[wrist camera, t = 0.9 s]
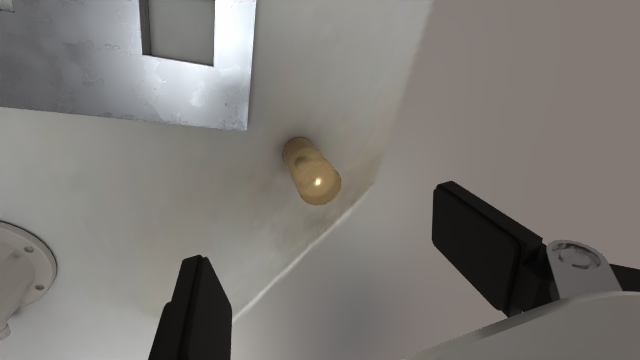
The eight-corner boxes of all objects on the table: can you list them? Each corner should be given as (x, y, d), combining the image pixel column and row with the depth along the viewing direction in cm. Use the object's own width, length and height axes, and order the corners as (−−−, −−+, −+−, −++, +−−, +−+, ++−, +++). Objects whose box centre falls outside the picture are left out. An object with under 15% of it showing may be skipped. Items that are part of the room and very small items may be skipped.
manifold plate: (245, 124, 32) (246, 131, 30) (-59, 92, 24) (-95, 97, 21) (258, -64, 26) (261, -77, 23) (-158, -201, 17) (-227, -245, 15)
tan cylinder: (312, 169, 37) (336, 205, 29) (280, 167, 36) (295, 205, 27) (317, 138, 36) (345, 166, 27) (284, 135, 34) (302, 163, 26)
